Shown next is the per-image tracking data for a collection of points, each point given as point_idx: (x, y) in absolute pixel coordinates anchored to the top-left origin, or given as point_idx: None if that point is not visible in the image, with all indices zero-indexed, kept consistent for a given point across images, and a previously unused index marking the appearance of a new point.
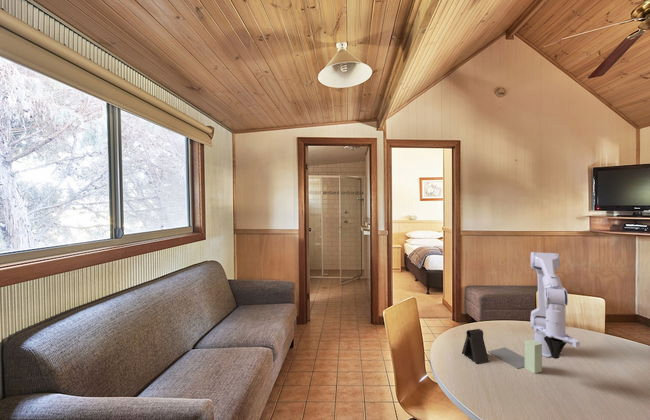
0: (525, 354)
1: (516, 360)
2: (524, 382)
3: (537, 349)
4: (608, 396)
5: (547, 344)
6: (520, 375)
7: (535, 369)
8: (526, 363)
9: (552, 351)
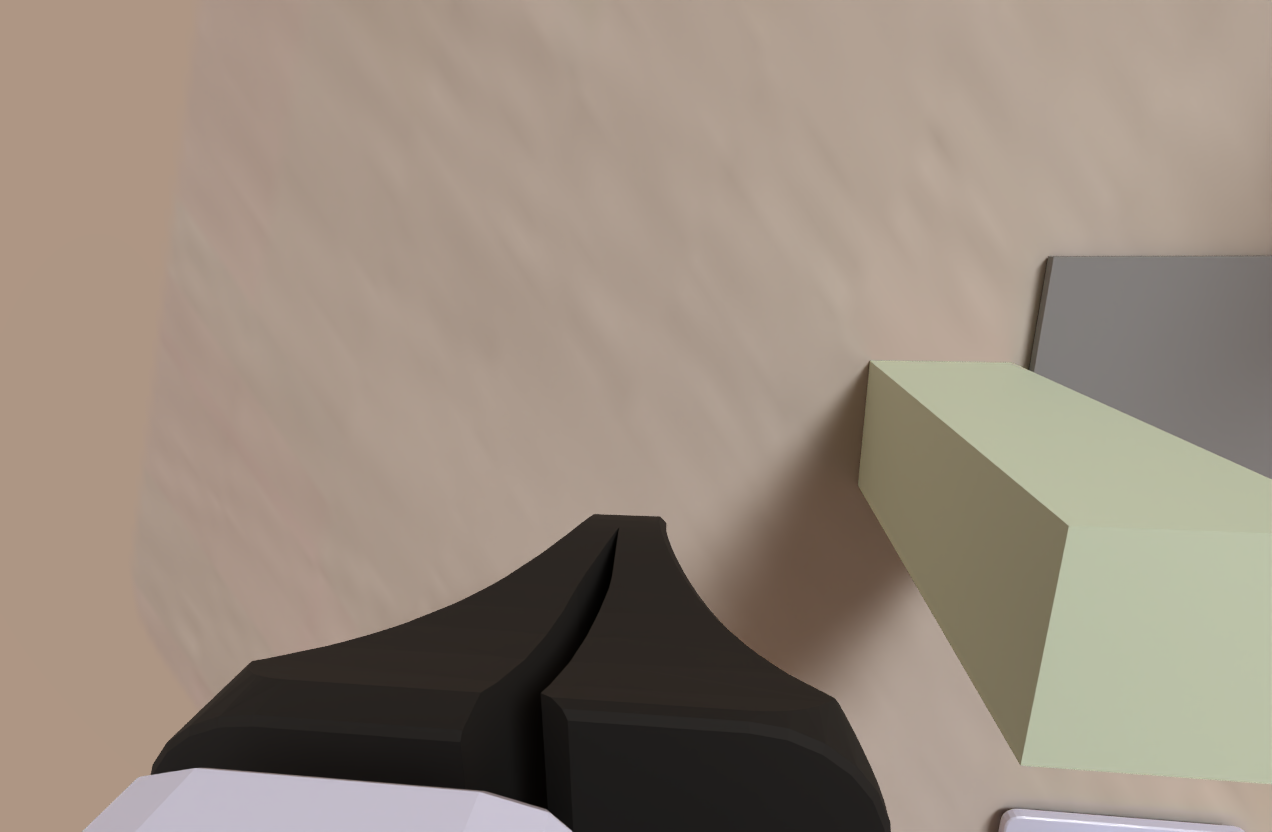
0: (1117, 416)
1: (1182, 421)
2: (799, 27)
3: (993, 561)
4: (346, 619)
5: (721, 630)
6: (930, 136)
7: (880, 386)
8: (1020, 381)
9: (615, 569)
